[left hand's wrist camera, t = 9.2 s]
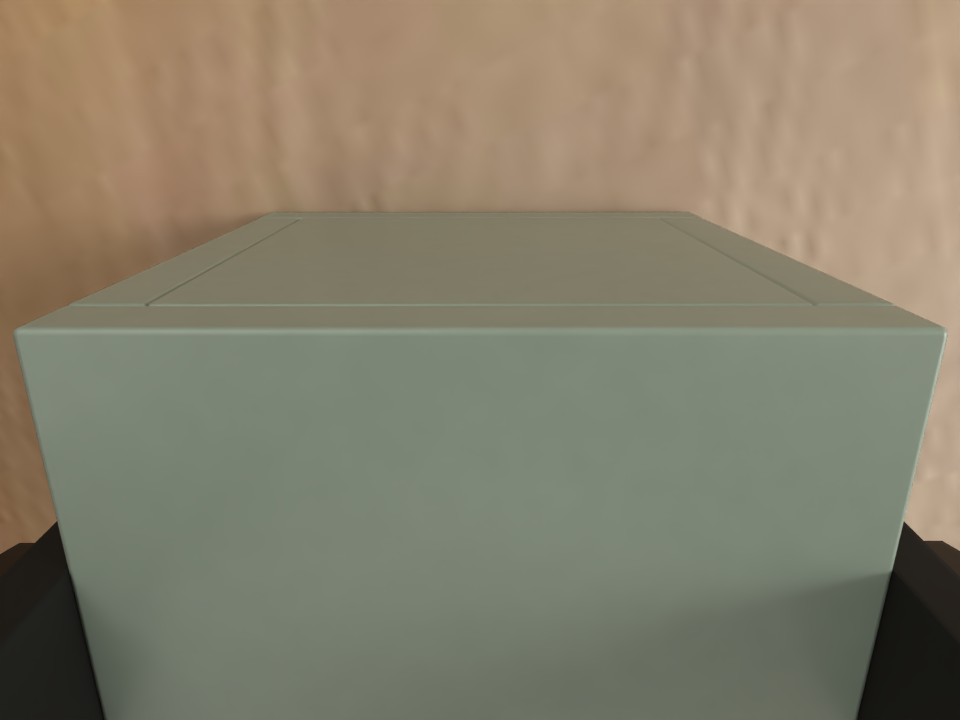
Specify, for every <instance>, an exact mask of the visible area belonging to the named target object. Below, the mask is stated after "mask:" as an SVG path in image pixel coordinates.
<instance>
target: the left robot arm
mask: <svg viewBox="0 0 960 720" xmlns="http://www.w3.org/2000/svg"><path fill="white" fill-rule="evenodd" d="M0 720H104V716H103V711H102V707H101V703H100V699H99V695H98V690H97V686H96V682H95V678H94V674H93V669H92V665H91V661H90V657H89V653H88V648H87V644H86V640H85V636H84V632H83V627H82V623H81V619H80V615H79V611H78V606H77V602H76V598H75V594H74V589H73V585H72V581H71V577H70V573H69V568H68V564H67V560H66V556H65V552H64V547H63V543H62V539H61V535H60V531H59V526H58V522H56V523H55V524H54V525H53V526H52V527H51V528H50V529H49V530H48V531H47V532H46V533H45V534H44V535H43V536H42V537H41V538H40V539H39V540H38V541H37V542H36V543H19V544H17V545H15V546H14V547H12V548H10V549H8V550H7V551H5V552H3V553H2V554H0ZM857 720H960V551H959V550H957V549H955V548H953V547H952V546H950V545H948V544H947V543H945V542H943V541H923V540H922V539H921V538H920V537H919V536H918V535H917V534H916V533H915V532H914V531H913V530H912V529H911V528H910V527H909V526H908V525H907V524H906V523H905V522H903V527H902V531H901V535H900V539H899V543H898V548H897V552H896V556H895V560H894V565H893V569H892V573H891V577H890V581H889V586H888V590H887V594H886V598H885V603H884V607H883V611H882V615H881V619H880V624H879V628H878V632H877V636H876V641H875V645H874V649H873V653H872V657H871V662H870V666H869V670H868V674H867V679H866V683H865V687H864V691H863V695H862V700H861V704H860V708H859V712H858V717H857Z"/></svg>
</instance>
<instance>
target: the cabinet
mask: <svg viewBox="0 0 960 720" xmlns="http://www.w3.org/2000/svg"><path fill="white" fill-rule="evenodd" d="M947 336H948V334H947V330H946V328H944V327H942V326H940V325H938V324H935V323H933V322H931V321H929V320H926V319H924V318H922V317H920V316H918V315H915V314H913V313H911V312H909V311H906V310H904V309H902V308H900V307H897V306H894V304H892V303H890V302H888V301H886V300H883V299H881V298H879V297H877V296H874V295H872V294H870V293H868V292H866V291H863V290H861V289H859V288H857V287H854V286H852V285H850V284H848V283H845V282H843V281H841V280H839V279H836V278H834V277H832V276H830V275H828V274H825V273H823V272H821V271H819V270H816V269H814V268H812V267H810V266H807V265H805V264H803V263H801V262H798V261H796V260H794V259H792V258H790V257H787V256H785V255H783V254H781V253H778V252H776V251H774V250H772V249H769V248H767V247H765V246H763V245H761V244H758V243H756V242H754V241H752V240H749V239H747V238H745V237H743V236H740V235H738V234H736V233H734V232H731V231H729V230H727V229H725V228H723V227H720V226H718V225H716V224H714V223H711V222H709V221H707V220H705V219H702V218H701V217H699V216H697V215H695V214H692V213H690V212H271V213H269V214H267V215H264V216H262V217H260V218H259V219H257V220H255V221H253V222H251V223H248V224H246V225H244V226H242V227H239V228H237V229H235V230H233V231H231V232H228V233H226V234H224V235H222V236H220V237H217V238H215V239H213V240H211V241H208V242H206V243H204V244H202V245H200V246H197V247H195V248H193V249H191V250H188V251H186V252H184V253H182V254H180V255H177V256H175V257H173V258H171V259H168V260H166V261H164V262H162V263H160V264H157V265H155V266H153V267H151V268H148V269H146V270H144V271H142V272H140V273H137V274H135V275H133V276H131V277H128V278H126V279H124V280H122V281H120V282H117V283H115V284H113V285H111V286H108V287H106V288H104V289H102V290H100V291H97V292H95V293H93V294H91V295H88V296H86V297H84V298H82V299H80V300H77V301H75V302H73V303H71V304H69V305H68V306H64V307H62V308H60V309H58V310H55V311H53V312H51V313H49V314H47V315H44V316H42V317H40V318H38V319H35V320H33V321H31V322H29V323H27V324H24V325H22V326H20V327H18V328H16V329H15V330H14V334H13V337H14V341H15V345H16V350H17V354H18V358H19V362H20V366H21V371H22V375H23V379H24V383H25V388H26V392H27V396H28V400H29V404H30V409H31V413H32V417H33V421H34V425H35V430H36V434H37V438H38V442H39V446H40V451H41V455H42V459H43V463H44V467H45V472H46V476H47V480H48V484H49V488H50V493H51V497H52V501H53V505H54V510H55V514H56V518H57V522H58V526H59V531H60V535H61V539H62V543H63V547H64V552H65V556H66V560H67V564H68V568H69V573H70V577H71V581H72V585H73V589H74V594H75V598H76V602H77V606H78V611H79V615H80V619H81V623H82V627H83V632H84V636H85V640H86V644H87V648H88V653H89V657H90V661H91V665H92V669H93V674H94V678H95V682H96V686H97V690H98V695H99V699H100V703H101V707H102V711H103V716H104V720H857V717H858V712H859V708H860V704H861V700H862V695H863V691H864V687H865V683H866V679H867V674H868V670H869V666H870V662H871V657H872V653H873V649H874V645H875V641H876V636H877V632H878V628H879V624H880V619H881V615H882V611H883V607H884V603H885V598H886V594H887V590H888V586H889V581H890V577H891V573H892V569H893V565H894V560H895V556H896V552H897V548H898V543H899V539H900V535H901V531H902V527H903V522H904V518H905V514H906V510H907V505H908V501H909V497H910V493H911V489H912V484H913V480H914V476H915V472H916V467H917V463H918V459H919V455H920V451H921V446H922V442H923V438H924V434H925V429H926V425H927V421H928V417H929V412H930V408H931V404H932V400H933V396H934V391H935V387H936V383H937V379H938V374H939V370H940V366H941V362H942V358H943V353H944V349H945V345H946V341H947Z"/></svg>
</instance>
